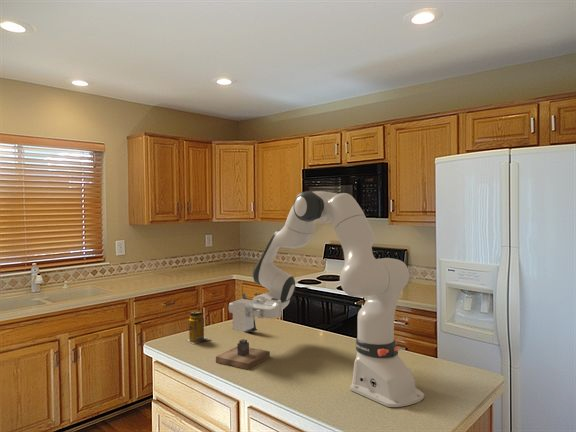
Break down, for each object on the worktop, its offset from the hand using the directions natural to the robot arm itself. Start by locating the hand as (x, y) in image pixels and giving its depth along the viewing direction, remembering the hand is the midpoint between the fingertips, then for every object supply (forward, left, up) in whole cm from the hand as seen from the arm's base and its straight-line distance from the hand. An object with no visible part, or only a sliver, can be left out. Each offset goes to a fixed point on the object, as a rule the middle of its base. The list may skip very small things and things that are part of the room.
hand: (241, 313), depth 150 cm
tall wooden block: (0, -1, -5) cm, 6 cm away
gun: (+34, -15, -17) cm, 41 cm away
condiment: (+30, +7, -17) cm, 36 cm away
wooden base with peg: (0, -1, -17) cm, 17 cm away
